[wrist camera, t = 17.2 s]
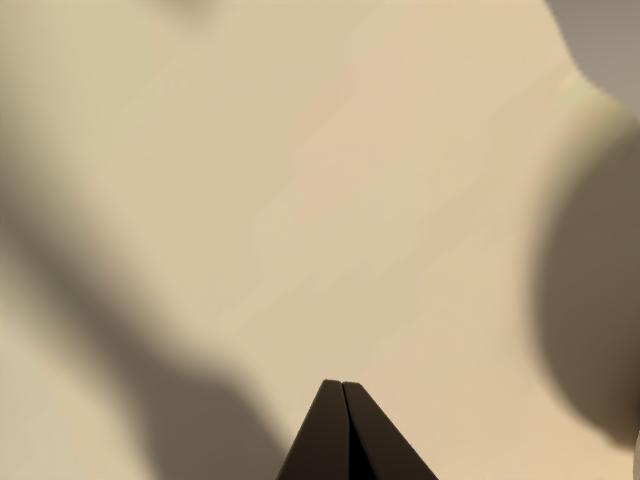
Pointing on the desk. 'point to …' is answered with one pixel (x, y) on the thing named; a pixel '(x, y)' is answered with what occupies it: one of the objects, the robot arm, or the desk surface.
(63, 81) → the desk surface
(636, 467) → the satellite
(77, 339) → the desk surface
